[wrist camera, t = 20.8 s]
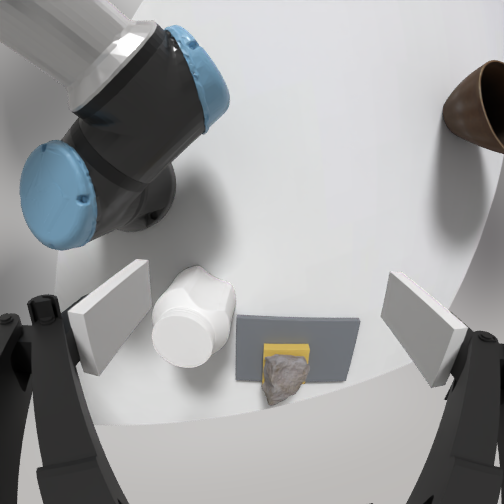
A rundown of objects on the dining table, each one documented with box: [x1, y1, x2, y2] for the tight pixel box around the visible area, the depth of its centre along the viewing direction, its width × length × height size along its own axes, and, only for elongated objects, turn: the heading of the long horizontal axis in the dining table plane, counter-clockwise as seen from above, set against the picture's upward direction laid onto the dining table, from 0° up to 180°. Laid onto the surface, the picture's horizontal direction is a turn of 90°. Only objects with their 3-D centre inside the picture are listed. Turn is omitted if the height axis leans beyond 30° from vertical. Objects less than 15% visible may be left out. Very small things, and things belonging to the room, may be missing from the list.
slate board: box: [236, 315, 360, 382], centre depth 51 cm, size 22×14×1 cm, turn 88°
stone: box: [262, 354, 310, 406], centre depth 47 cm, size 10×8×6 cm
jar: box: [152, 266, 236, 368], centre depth 43 cm, size 12×10×15 cm
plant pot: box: [443, 60, 504, 154], centre depth 31 cm, size 15×15×16 cm
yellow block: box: [262, 344, 310, 384], centre depth 50 cm, size 8×2×8 cm
